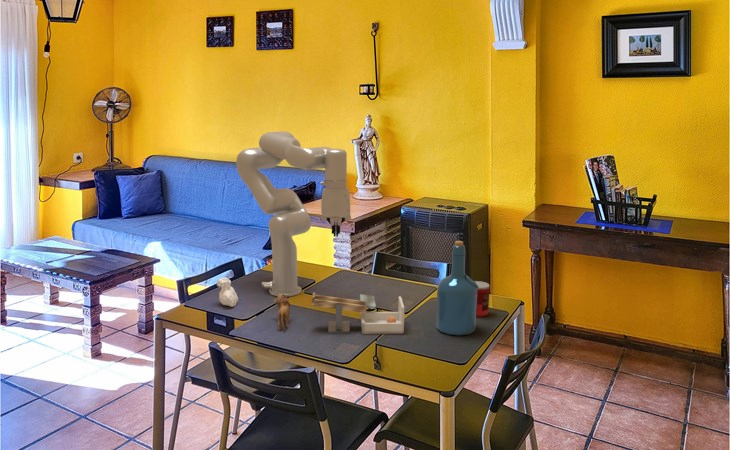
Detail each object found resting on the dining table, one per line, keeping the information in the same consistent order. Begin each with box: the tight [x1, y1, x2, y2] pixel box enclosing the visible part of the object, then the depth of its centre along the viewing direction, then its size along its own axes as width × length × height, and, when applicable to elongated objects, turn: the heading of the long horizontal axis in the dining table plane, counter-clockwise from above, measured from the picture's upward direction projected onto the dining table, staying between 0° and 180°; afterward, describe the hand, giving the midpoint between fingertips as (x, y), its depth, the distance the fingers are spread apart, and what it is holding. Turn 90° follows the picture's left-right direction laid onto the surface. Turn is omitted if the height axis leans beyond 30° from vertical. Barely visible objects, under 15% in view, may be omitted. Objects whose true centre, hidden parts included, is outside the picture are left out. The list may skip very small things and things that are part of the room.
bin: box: [360, 296, 405, 335], centre depth 199 cm, size 14×11×9 cm
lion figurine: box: [273, 294, 291, 332], centre depth 201 cm, size 15×5×9 cm, turn 14°
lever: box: [310, 291, 377, 313], centre depth 203 cm, size 22×16×3 cm
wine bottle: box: [435, 240, 479, 336], centre depth 196 cm, size 14×13×30 cm
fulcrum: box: [327, 304, 351, 334], centre depth 198 cm, size 7×9×9 cm
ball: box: [387, 316, 396, 323], centre depth 199 cm, size 3×3×3 cm
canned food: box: [473, 280, 490, 318], centre depth 212 cm, size 8×8×11 cm
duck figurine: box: [216, 276, 239, 307], centre depth 221 cm, size 12×8×11 cm
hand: (335, 235), depth 213 cm, fingers closed
